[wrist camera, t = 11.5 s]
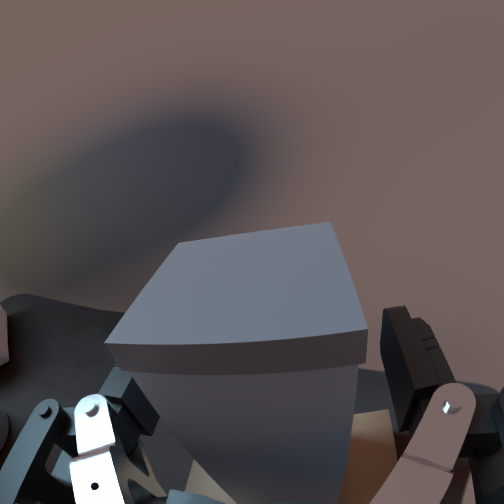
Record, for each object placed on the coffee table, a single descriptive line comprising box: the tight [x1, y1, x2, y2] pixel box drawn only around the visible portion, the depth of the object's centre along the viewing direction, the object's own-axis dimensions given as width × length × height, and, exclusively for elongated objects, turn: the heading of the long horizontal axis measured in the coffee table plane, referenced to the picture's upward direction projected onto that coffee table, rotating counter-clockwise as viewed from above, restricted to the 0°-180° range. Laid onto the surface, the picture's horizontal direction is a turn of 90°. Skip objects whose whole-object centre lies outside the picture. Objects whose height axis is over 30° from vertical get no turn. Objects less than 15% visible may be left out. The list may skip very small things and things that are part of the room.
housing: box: [105, 222, 368, 504], centre depth 9 cm, size 5×5×12 cm
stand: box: [185, 409, 398, 504], centre depth 12 cm, size 11×7×3 cm, turn 83°
